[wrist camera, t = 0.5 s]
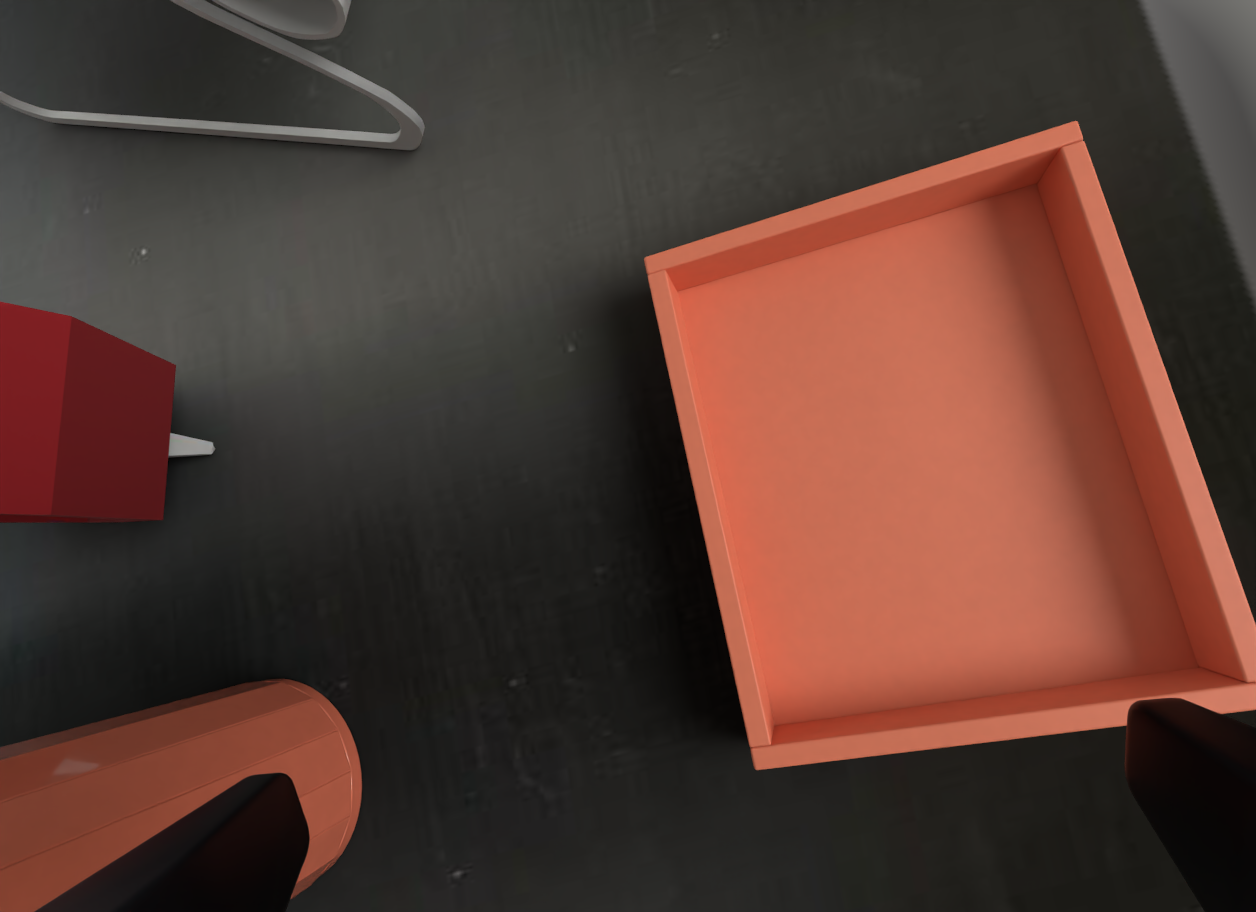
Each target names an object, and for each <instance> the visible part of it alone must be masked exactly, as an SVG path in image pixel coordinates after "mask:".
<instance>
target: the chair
mask: <svg viewBox="0 0 1256 912" xmlns="http://www.w3.org/2000/svg"><path fill="white" fill-rule="evenodd" d="M170 1H172V2H174V3H175V4H177V5H179V6H181V7H183V8H185V9H187V10H189V11H191V12H193V13H194V14H196V15H198V16H200V17H202V18H205V19H207V20H209V21H211V22H213V23H215V24H217V25H220V26H222V27H224V28H226V29H228V30H230V31H233V32H235V33H237V34H239V35H241V36H243V37H246V38H248V39H250V40H252V41H254V42H257V43H259V44H261V45H263V46H265V47H267V48H270V49H272V50H274V51H276V52H278V53H281V54H283V55H285V56H287V57H289V58H291V59H294V60H296V61H298V62H300V63H302V64H304V65H306V66H308V67H310V68H312V69H314V70H316V71H318V72H320V73H322V74H325V75H327V76H329V77H331V78H333V79H335V80H337V81H339V82H341V83H343V84H345V85H347V86H349V87H351V88H353V89H355V90H357V91H359V92H360V93H362V94H364V95H366V96H368V97H369V98H371V99H372V100H374V101H375V102H377V103H378V104H379V105H381V106H382V107H383V108H384V109H386V110H387V111H388V112H389V113H391V114H392V115H393V116H394V117H395V118H396V119H397V120H398V122H399V125H400V127H401V129H400V130H399V131H398V133H394V134H384V133H371V132H358V131H344V130H331V129H316V128H302V127H287V126H273V125H258V124H244V123H230V122H215V121H201V120H186V119H171V118H157V117H142V116H127V115H113V114H98V113H83V112H68V111H54V110H47V109H43V108H40V107H37V106H34V105H31V104H28V103H25V102H22V101H20V100H17V99H15V98H13V97H11V96H9V95H7V94H5V93H3V92H1V91H0V103H2V104H4V105H6V106H8V107H10V108H12V109H15V110H17V111H19V112H21V113H24V114H27V115H29V116H32V117H36V118H39V119H42V120H45V121H49V122H53V123H60V124H75V125H88V126H101V127H114V128H128V129H141V130H154V131H167V132H180V133H194V134H207V135H220V136H233V137H246V138H259V139H272V140H285V141H298V142H311V143H324V144H337V145H350V146H362V147H374V148H386V149H399V150H414V149H416V148H417V147H418V146H419V145H420V144H421V141H422V137H423V133H424V129H425V126H424V123H423V120H422V118H421V117H420V116H419V115H418V114H417V113H416V112H415V111H414V110H413V109H412V108H411V107H409V106H408V105H407V104H406V103H405V102H403V101H402V100H401V99H399V98H398V97H397V96H395V95H394V94H392V93H391V92H389V91H387V90H386V89H384V88H382V87H380V86H378V85H376V84H374V83H372V82H370V81H368V80H366V79H365V78H363V77H361V76H359V75H357V74H355V73H353V72H351V71H349V70H347V69H345V68H343V67H341V66H339V65H337V64H335V63H333V62H331V61H329V60H327V59H325V58H323V57H321V56H319V55H317V54H315V53H313V52H311V51H309V50H307V49H305V48H303V47H300V46H298V45H296V44H294V43H292V42H290V41H288V40H286V39H283V38H281V37H279V36H277V35H275V34H273V33H271V32H269V31H266V30H264V29H262V28H260V27H258V26H256V25H254V24H252V23H250V22H248V21H245V20H243V19H241V18H239V17H237V16H235V15H233V14H231V13H229V12H227V11H225V10H222V9H220V8H218V7H216V6H214V5H213V4H211V3H209V2H207V1H205V0H170ZM212 1H213V2H215V3H217V4H219V5H221V6H222V7H224V8H226V9H228V10H230V11H232V12H234V13H236V14H238V15H240V16H242V17H244V18H246V19H248V20H250V21H252V22H255V23H257V24H259V25H261V26H264V27H266V28H269V29H271V30H274V31H276V32H278V33H281V34H284V35H287V36H290V37H293V38H297V39H311V40H321V39H328V38H333V37H337V36H339V34H340V33H341V32H342V30H343V28H344V26H345V23H346V19H347V15H348V11H349V7H350V4H351V0H212Z"/></svg>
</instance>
